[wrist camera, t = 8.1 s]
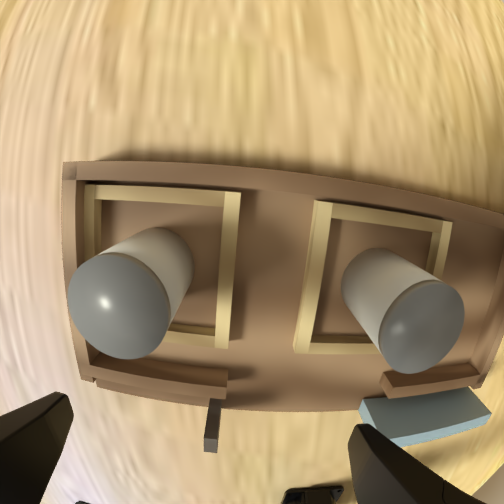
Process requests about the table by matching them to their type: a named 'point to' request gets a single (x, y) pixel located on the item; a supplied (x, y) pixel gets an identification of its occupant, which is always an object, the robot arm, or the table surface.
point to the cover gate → (425, 415)
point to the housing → (279, 283)
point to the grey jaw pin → (131, 292)
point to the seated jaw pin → (402, 309)
